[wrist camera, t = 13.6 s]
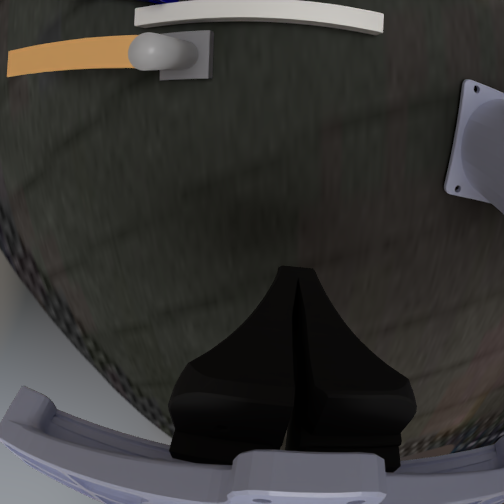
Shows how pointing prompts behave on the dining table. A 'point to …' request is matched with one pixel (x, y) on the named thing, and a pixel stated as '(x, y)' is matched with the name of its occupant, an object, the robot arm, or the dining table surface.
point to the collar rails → (247, 9)
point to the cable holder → (160, 1)
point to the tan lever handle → (105, 54)
